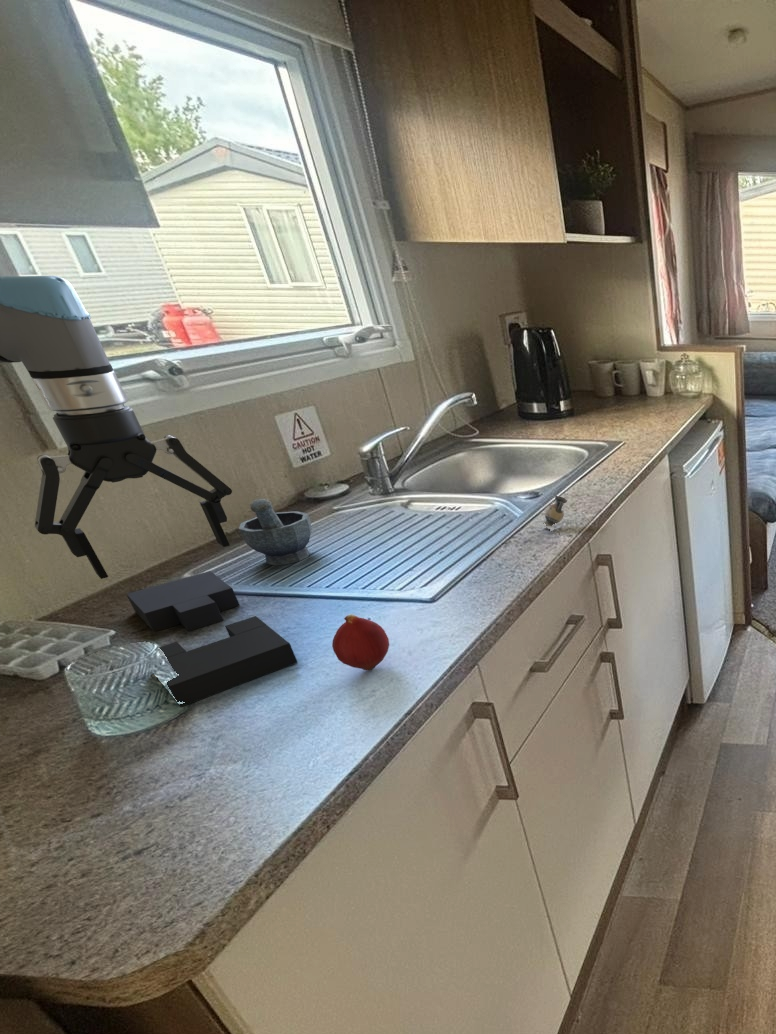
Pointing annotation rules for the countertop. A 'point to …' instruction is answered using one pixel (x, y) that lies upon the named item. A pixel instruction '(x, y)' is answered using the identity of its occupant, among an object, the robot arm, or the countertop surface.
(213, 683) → the notch pad
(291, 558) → the mortar and pestle
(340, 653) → the onion
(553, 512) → the vase
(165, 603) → the pad
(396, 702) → the countertop surface
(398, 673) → the countertop surface
